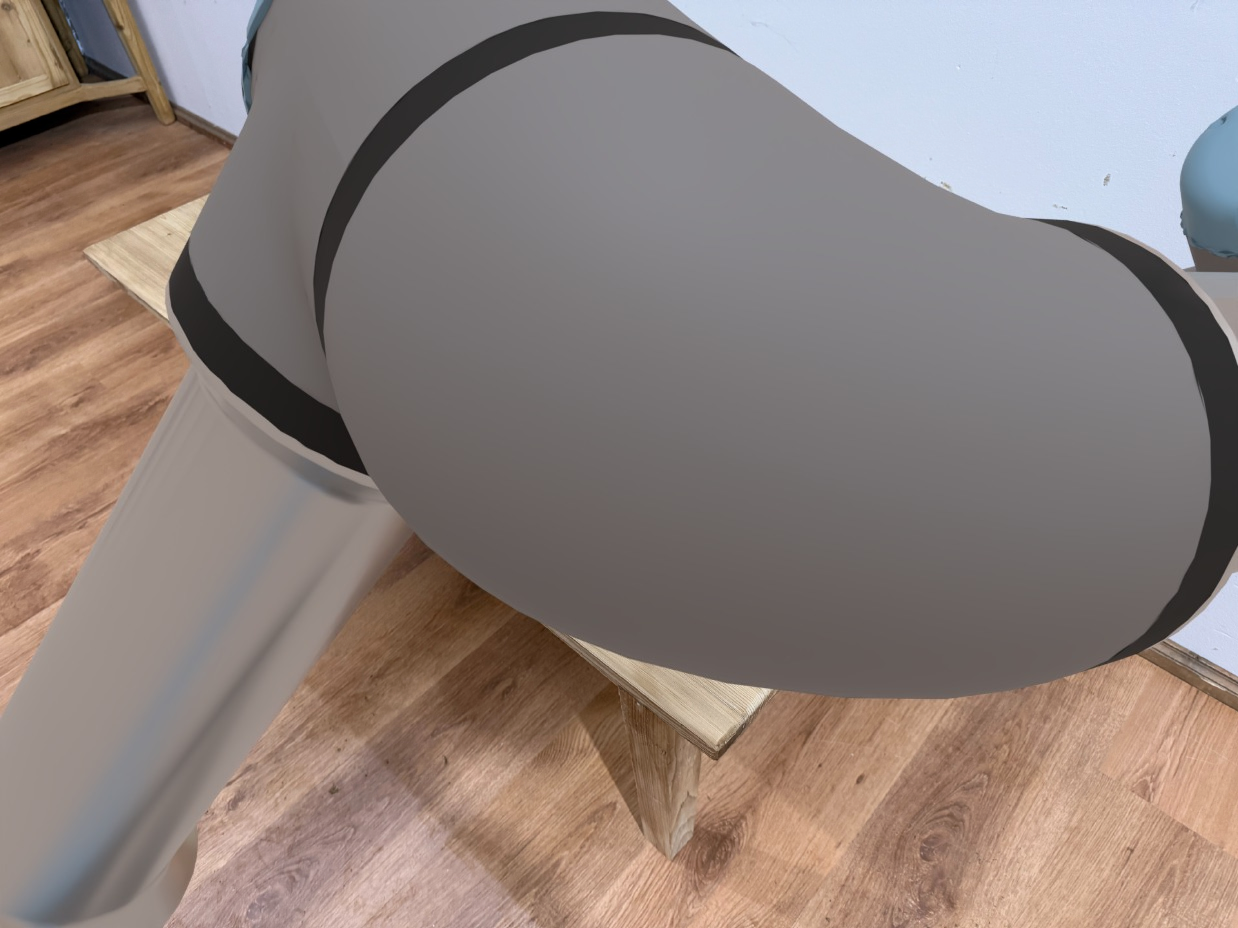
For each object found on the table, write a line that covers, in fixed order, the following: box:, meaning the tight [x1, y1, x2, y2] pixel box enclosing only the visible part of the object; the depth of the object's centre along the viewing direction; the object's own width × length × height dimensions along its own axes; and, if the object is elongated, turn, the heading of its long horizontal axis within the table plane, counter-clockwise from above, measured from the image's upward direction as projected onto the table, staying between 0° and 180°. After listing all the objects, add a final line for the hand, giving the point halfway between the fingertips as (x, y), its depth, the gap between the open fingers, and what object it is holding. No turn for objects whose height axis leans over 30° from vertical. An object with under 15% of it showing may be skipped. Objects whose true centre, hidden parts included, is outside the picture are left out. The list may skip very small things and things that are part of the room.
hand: (790, 412), depth 66 cm, fingers open, 13 cm apart
